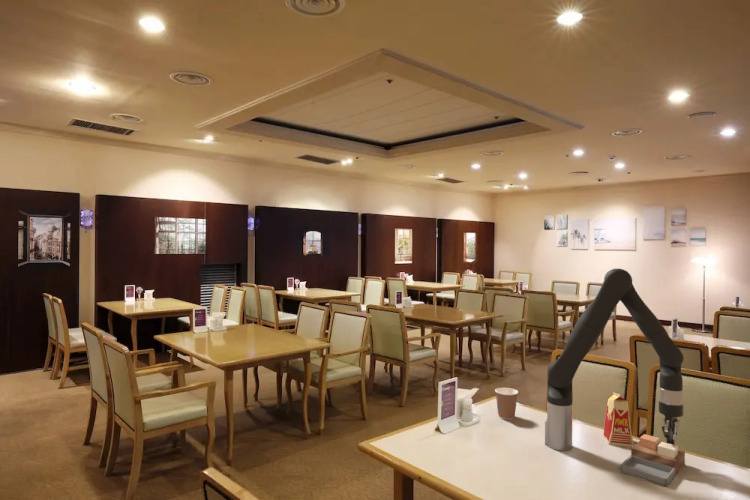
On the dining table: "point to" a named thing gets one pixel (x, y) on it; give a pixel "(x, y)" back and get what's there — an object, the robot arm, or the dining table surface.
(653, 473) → the tray
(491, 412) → the dining table surface
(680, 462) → the bronze square platform
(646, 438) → the salmon square block
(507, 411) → the coffee cup
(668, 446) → the tile cream
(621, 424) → the milk carton
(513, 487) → the dining table surface
